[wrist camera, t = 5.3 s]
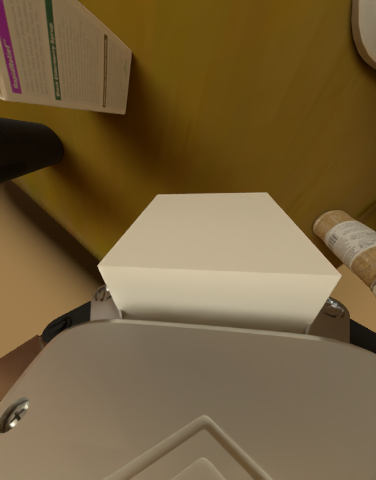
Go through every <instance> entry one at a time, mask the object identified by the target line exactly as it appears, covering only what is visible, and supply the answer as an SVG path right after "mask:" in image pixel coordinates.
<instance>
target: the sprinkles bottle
mask: <svg viewBox="0 0 376 480" xmlns="http://www.w3.org/2000/svg"><path fill="white" fill-rule="evenodd" d="M313 232H314V233H315V235H316V236H318V237H319V238H320V239H321V240H322V241H323V242H324V243H325V244H326V246H327V247H328V248H329V249H330V250H331V251H332V252H333V253H334V254H335V255H336V256H337V257H338V258H339V259H340V260H341V261H342V262H343V263H344V264H345V265H346V266H347V267H348V268H349V269H350V270H351V271H352V272H353V273H355V274H356V275H357V276H358V277H359V278H360V279H361V280H362V281H363V282H364V283H365V284H366V285H367V286H368V287H369V288H370V289H371V291H372V292H373V294H374V296H375V297H376V232H375V231H374V230H372V229H370V228H369V227H367V226H366V225H364V224H362V223H360V222H358V221H356V220H355V219H353V218H352V217H350V216H349V215H348V214H347V213H345V212H344V211H340V210H334V211H329V212H326V213H324V214H323V215H321V216H320V217H319V218H317V219H316V221H315V222H314V225H313Z"/></svg>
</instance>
